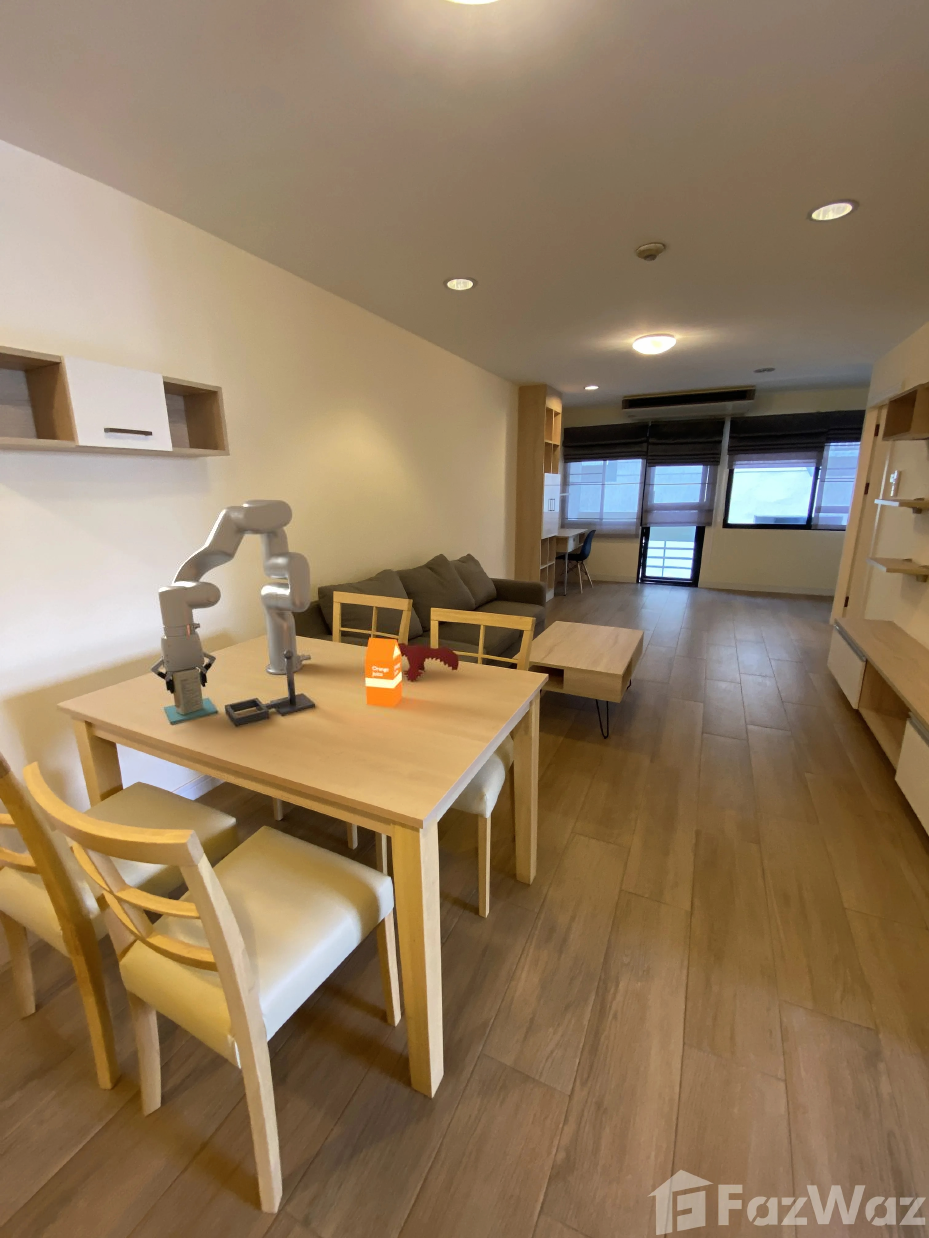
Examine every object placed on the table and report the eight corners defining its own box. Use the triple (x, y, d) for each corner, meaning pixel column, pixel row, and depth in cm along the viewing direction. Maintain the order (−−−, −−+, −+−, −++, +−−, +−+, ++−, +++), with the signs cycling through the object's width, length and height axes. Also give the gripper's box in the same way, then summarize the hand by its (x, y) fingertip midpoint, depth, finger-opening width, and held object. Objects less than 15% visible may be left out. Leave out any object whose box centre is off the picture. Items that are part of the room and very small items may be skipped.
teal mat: (208, 699, 154) (208, 697, 154) (218, 713, 145) (217, 710, 145) (164, 709, 147) (163, 707, 147) (170, 724, 138) (170, 721, 137)
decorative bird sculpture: (455, 693, 171) (463, 653, 178) (448, 683, 164) (458, 642, 170) (380, 684, 179) (391, 646, 186) (370, 673, 171) (382, 635, 178)
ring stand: (302, 696, 157) (298, 642, 153) (315, 707, 149) (311, 651, 144) (225, 714, 144) (218, 656, 139) (235, 728, 135) (228, 667, 131)
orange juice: (394, 707, 150) (392, 643, 145) (366, 704, 152) (363, 641, 147) (402, 696, 157) (400, 635, 152) (375, 694, 159) (373, 634, 154)
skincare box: (196, 704, 148) (193, 665, 146) (204, 708, 146) (200, 668, 143) (174, 711, 143) (169, 671, 141) (181, 715, 141) (177, 674, 138)
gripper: (210, 622, 148) (217, 678, 152) (141, 632, 137) (150, 691, 142) (216, 628, 142) (223, 686, 146) (144, 638, 132) (154, 700, 136)
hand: (187, 688), depth 144 cm, fingers open, 7 cm apart
